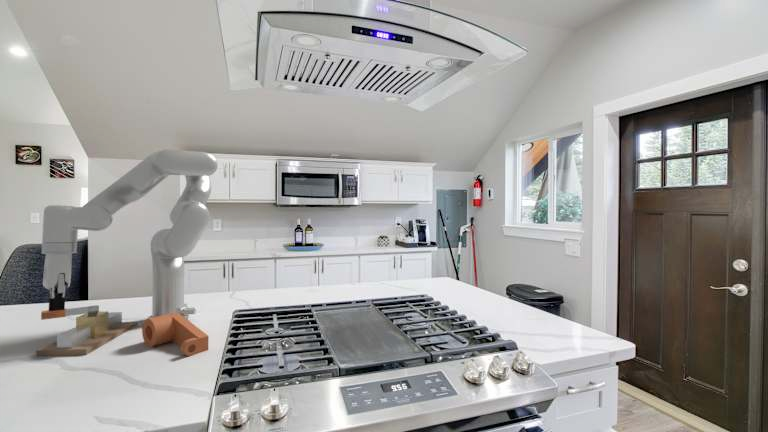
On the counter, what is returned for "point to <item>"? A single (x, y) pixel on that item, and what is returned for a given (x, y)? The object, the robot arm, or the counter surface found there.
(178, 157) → the robot arm
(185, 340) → the crank
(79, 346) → the walnut board
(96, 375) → the counter surface
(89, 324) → the valve body
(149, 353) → the counter surface
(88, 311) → the lever
